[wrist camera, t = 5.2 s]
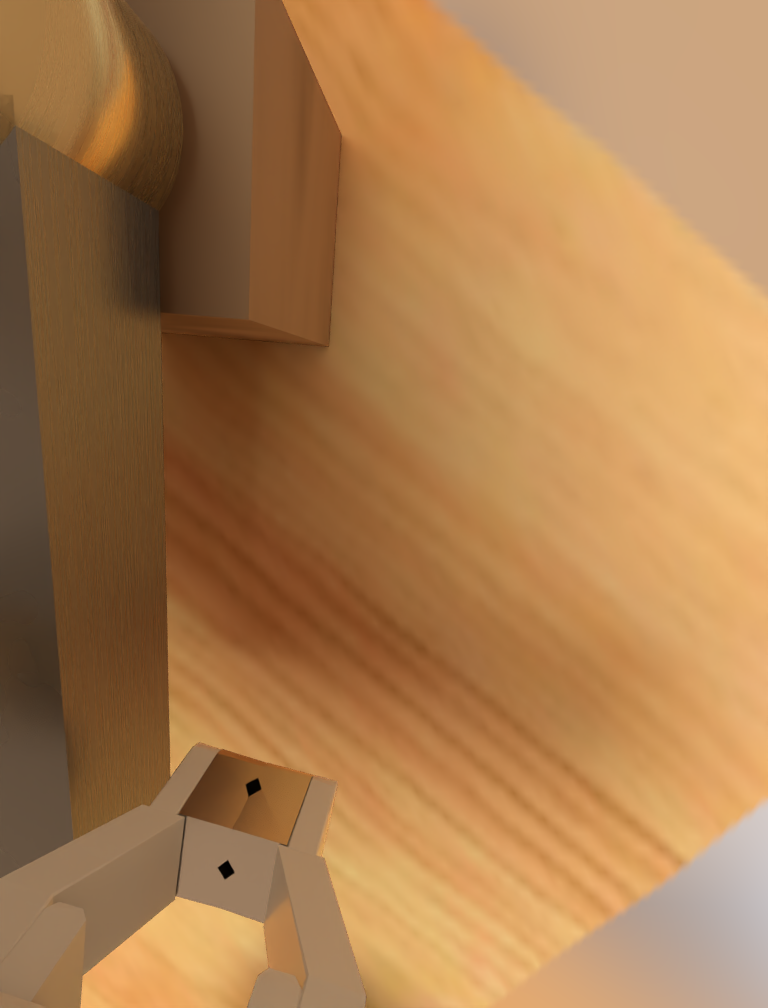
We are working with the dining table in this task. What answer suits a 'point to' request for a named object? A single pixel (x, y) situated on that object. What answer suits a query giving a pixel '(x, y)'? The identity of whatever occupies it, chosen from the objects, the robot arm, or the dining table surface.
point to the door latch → (246, 176)
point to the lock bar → (81, 419)
